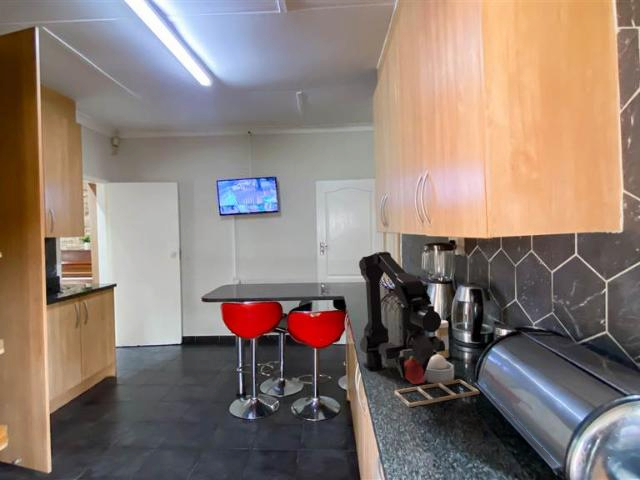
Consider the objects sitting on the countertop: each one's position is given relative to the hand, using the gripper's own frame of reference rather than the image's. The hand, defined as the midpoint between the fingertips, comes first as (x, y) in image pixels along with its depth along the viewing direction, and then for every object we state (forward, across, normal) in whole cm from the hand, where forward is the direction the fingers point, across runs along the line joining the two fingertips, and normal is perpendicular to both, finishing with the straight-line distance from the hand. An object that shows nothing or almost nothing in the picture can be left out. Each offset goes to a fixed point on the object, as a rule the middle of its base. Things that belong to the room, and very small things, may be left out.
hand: (413, 376), depth 106 cm
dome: (+5, +14, +10) cm, 18 cm away
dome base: (+6, +12, +10) cm, 17 cm away
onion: (+2, 0, 0) cm, 2 cm away
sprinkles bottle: (+7, +27, +26) cm, 38 cm away
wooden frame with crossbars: (+6, +8, 0) cm, 10 cm away
